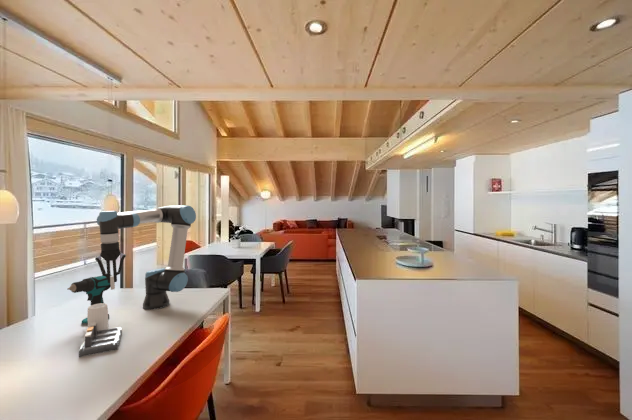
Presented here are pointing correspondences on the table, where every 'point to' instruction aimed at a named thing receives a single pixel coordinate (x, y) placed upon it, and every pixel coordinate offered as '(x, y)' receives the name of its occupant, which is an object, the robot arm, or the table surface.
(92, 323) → the block
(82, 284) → the power drill
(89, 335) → the block
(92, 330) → the block
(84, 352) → the panel
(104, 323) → the cup
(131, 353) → the table surface
